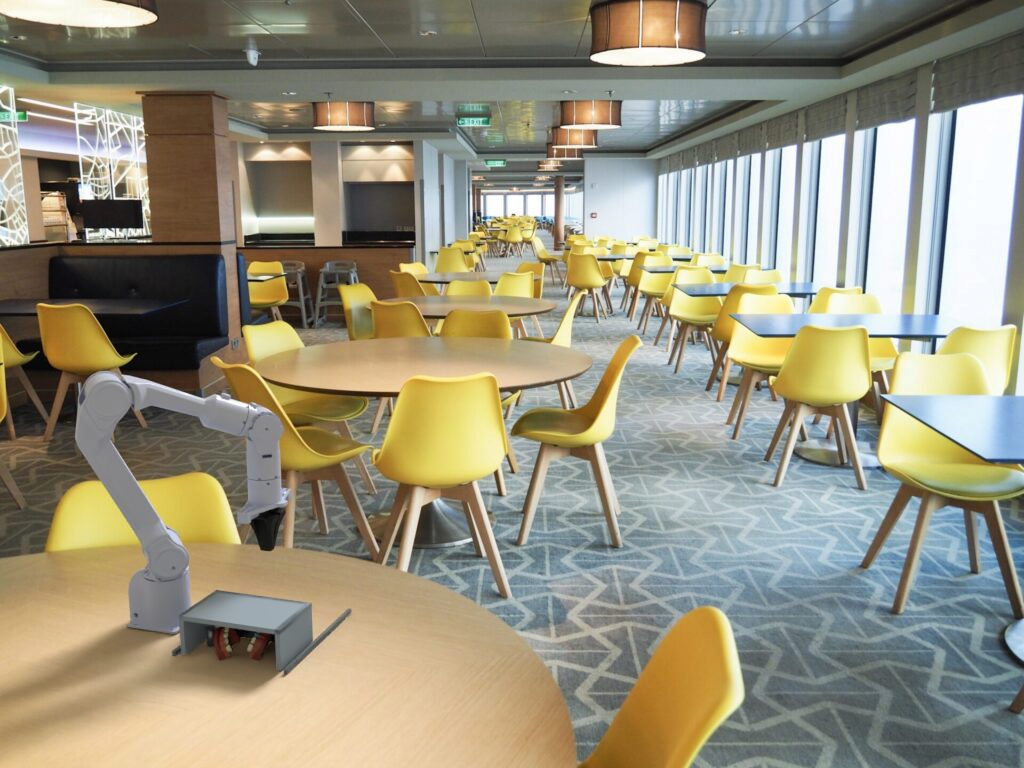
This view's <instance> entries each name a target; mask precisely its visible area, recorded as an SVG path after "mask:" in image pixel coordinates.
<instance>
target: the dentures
mask: <svg viewBox="0 0 1024 768" xmlns="http://www.w3.org/2000/svg"><path fill="white" fill-rule="evenodd" d="M254 635H255V637H253V638H252V639H251V641H250V643H248V646H247V649H246V651H247V652H248V653H249V657H250V658H251V660H254V661H256V662H257V661H260V659H261V657H262V656H263V654H264V653H265V651H266V650H267V647H268V646H269V644H270V643H271V642H270V641H271V638H272V635H273V634H269V633H262V632H257V633H254ZM242 636H243V632H242V630H241V629H240V630H239V629H235V628H229V627H222V626H221V627H218V628H217V629H216V630H215V632H214V638H213V639H214V650H215V655H216V657H217V658H218V661H222V660H225V659H227V658H228V657H229V656H231V654H232V651H234V649H233V647H234V646H236V645H237V644H238V643H240V641H241V637H242ZM256 637H257V638H256Z"/></svg>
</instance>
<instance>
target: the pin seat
mask: <svg viewBox="0 0 1024 768" xmlns="http://www.w3.org/2000/svg"><path fill="white" fill-rule="evenodd" d="M350 613H351V614H352V608H348V607H347V609H346V610H344V612H342V613H341V614H340V615H339V616H338V617H337V619H335V620H334V621H333V622H332V623H331V624H330V625H329V626H328V627H326V629H325V630H324V631H322V633H320V634H319V635H318V636H317V637H316V638H315V639H313V641H312V642H311V643H310V644H309V645H308V646H307V647H306V648H305V649H304V650H303V651H302V652H300V653H299V654H298V655H297V656H296V657H295V658H294V659H293V660H292V661H291V662H290V663H289V664H288V665H287V666H285V667H284V668H283V674H284V675H289V674H290V673H291V672H292V671H293V669H295V668H296V667H297V666H298V665H299V664H300V663H301V662H302V661H303V660H304V659H305V658H306V657H307V656H308V655H310V653H312V651H314V650H315V648H317V647H318V646H319V645H320V644H321V643H322V642H323V641H324V640H326V638H327V637H328V636H329V635H330V634H332V632H334V630H335V629H336V628H337V627H339V626H340V625H341V624H342V623H343V622H344V621H345V620H346V619H347V618H348V617H349V616H350V615H351V614H350ZM349 614H350V615H349ZM348 615H349V616H348ZM347 616H348V617H347ZM346 617H347V618H346ZM345 618H346V619H345ZM344 619H345V620H344ZM343 620H344V621H343ZM342 621H343V622H342ZM341 622H342V623H341ZM340 623H341V624H340ZM339 624H340V625H339ZM216 629H217V627H216V626H215V625H210V626H207V627H206V637H207V639H206V647H208V648H213V647H214V639H213V638H214V632H215V630H216ZM239 630H240V629H239ZM241 630H242V629H241ZM242 632H243V636H242V637H241V638H243V639H249V640H252V638H253V637H255V635H254V633H257V632H256V631H249V630H242ZM256 638H257V637H256ZM270 643H274V644H275V634H273V635H272V638H271V641H270ZM214 648H215V647H214ZM179 654H181V644H180V645H178V646H177V647H175V648H174V649H172V651H171V655H172V656H173V657H177V656H178V655H179Z"/></svg>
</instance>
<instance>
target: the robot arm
mask: <svg viewBox="0 0 1024 768" xmlns="http://www.w3.org/2000/svg"><path fill="white" fill-rule="evenodd" d="M121 377H122V378H123V379H122V378H121ZM149 407H157V408H161V409H164V410H169V411H172V412H177V413H182V414H186V415H190V416H193V417H197V418H199V420H200V423H201V425H202V426H203V427H204V428H208V429H211V430H214V431H219V432H222V433H227V434H230V435H233V436H237V437H246V438H245V439H246V440H245V441H246V452H245V456H246V457H245V458H246V478H247V483H246V484H247V497H248V498H247V501H246V502H245V504H244V505H243V506H242V508H241V509H240V510H239V511H237V513H236V515H237V516H236V517H237V524H240V525H241V524H242V525H250V527H251V529H252V530H253V533H254V535H255V537H256V540H257V543H258V547H259V549H260V551H263V552H264V551H265V552H272V551H274V549H275V547H276V543H277V539H278V538H277V537H278V533H279V529H280V527H281V524H282V521H283V519H284V517H285V516H286V514H287V513H286V511H287V510H286V508H284V507H287V505H289V504H288V501H290V500H291V499H292V489H291V488H285V487H282V467H281V465H282V464H281V461H282V460H281V448H280V439H281V438H282V436H283V434H284V430H285V427H284V426H283V424H282V421H281V419H280V417H279V416H278V415H277V414H275V413H274V412H273V411H271V410H270V409H268V408H267V407H264V406H262V405H261V404H257V403H255V402H253V401H251V402H250V403H246V402H243V401H239V400H236V399H233V398H232V396H231V395H230V394H228V393H225V392H221V394H220V395H219V394H217V393H215V394H212V395H210V396H207V397H204V398H203V397H199V396H196V395H194V394H190V393H188V392H184V391H181V390H178V389H175V388H173V387H170V386H167V385H163V384H161V383H158V382H154V381H151V380H149V379H144V378H140V377H136V376H132V375H127V374H121V376H119V375H118V374H117V373H114V372H112V371H108V370H107V371H105V370H104V371H103V370H101V371H98V372H95V373H93V374H91V375H90V376H89V377H88V378H87V379H86V380H85V382H84V383H83V385H82V388H81V390H80V392H79V394H78V397H77V413H76V424H75V432H74V433H75V434H74V438H75V439H74V440H75V442H76V445H77V447H78V449H79V450H80V452H81V453H82V455H83V456H84V458H85V460H86V461H87V463H88V465H90V467H91V468H92V470H93V472H94V473H95V475H96V477H97V478H98V479H99V481H100V482H101V484H102V486H103V487H104V489H106V492H107V493H108V495H109V497H111V499H112V500H113V502H114V504H115V505H116V506H117V509H118V510H119V511H120V513H121V515H122V516H123V517H124V519H125V520H126V523H128V525H129V527H130V528H131V530H132V531H133V533H134V534H135V536H136V538H137V540H138V541H139V543H140V545H141V551H142V554H143V555H144V557H145V558H146V561H147V564H146V566H145V568H140V569H138V570H137V571H136V572H135V573H133V575H132V576H131V578H130V580H129V583H128V605H129V608H128V609H129V618H130V622H127V628H133V629H138V630H139V629H140V630H144V631H150V632H151V631H153V632H156V633H158V632H159V633H165V634H170V635H171V634H172V635H175V634H177V633H180V629H179V615H180V614H181V613H183V612H184V611H186V610H187V609H189V608H190V607H192V597H191V596H192V595H191V581H190V580H191V578H190V566H189V564H190V553H189V552H188V549H187V548H186V547H185V546H184V545H183V542H182V540H181V536H180V534H179V533H178V532H177V530H175V529H174V528H171V527H169V526H168V525H167V524H165V522H164V521H163V519H162V517H161V516H160V515H159V513H158V512H157V510H156V509H155V507H154V505H153V504H152V503H151V501H150V499H149V498H148V496H147V494H146V493H145V491H144V490H143V489H142V486H140V483H139V482H138V480H137V479H136V477H135V476H134V474H133V472H132V471H131V470H130V467H128V465H127V464H126V461H125V460H124V459H123V457H122V456H121V454H120V452H119V451H118V449H117V448H116V446H115V445H114V443H113V441H112V440H111V439H112V437H113V434H114V432H115V429H116V426H117V424H118V423H119V421H120V420H121V419H123V417H124V416H125V415H126V414H127V412H129V410H130V408H132V410H133V411H134V412H137V411H140V410H143V409H146V408H149Z"/></svg>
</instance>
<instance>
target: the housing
mask: <svg viewBox="0 0 1024 768" xmlns="http://www.w3.org/2000/svg"><path fill="white" fill-rule="evenodd" d="M312 608H313V605H312V602H308V601H301V600H292V599H285V598H279V597H269V596H264V595H257V594H256V595H255V594H248V593H242V592H233V591H227V590H220V589H216V590H214V591H213V592H211V593H210V594H208V595H207V596H204V598H202V599H201V600H199V601H197V603H195V604H193V605H191V607H190V608H189V609H187V610H186V611H184V612H183V613H181V614H180V615H179V629H180V631H179V643H180V645H181V653H180V655H182V656H187V655H188V654H189V653H190V652H191V651H193V650H195V649H196V648H197V647H199V646H200V645H201V644H202V643H204V642H206V641H207V637H206V627H207V626H210V625H215V626H216V627H217V628H218V627H221V626H222V627H229V628H235V629H242V630H249V631H256V632H262V633H269V634H275V643H274V646H275V647H274V648H275V667H276V671H282V670H284V668H285V667H286V666H287V665H288V664H289V663H291V662H292V661H293V660H294V659H295V658H296V657H297V656H298V655H299V654H300V653H301V652H302V651H303V650H304V649H305V648H307V647H308V646H309V645H310V644H311V643H312V642H313V641H314V636H313V635H314V634H313V633H314V632H313V629H314V628H313V609H312Z"/></svg>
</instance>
